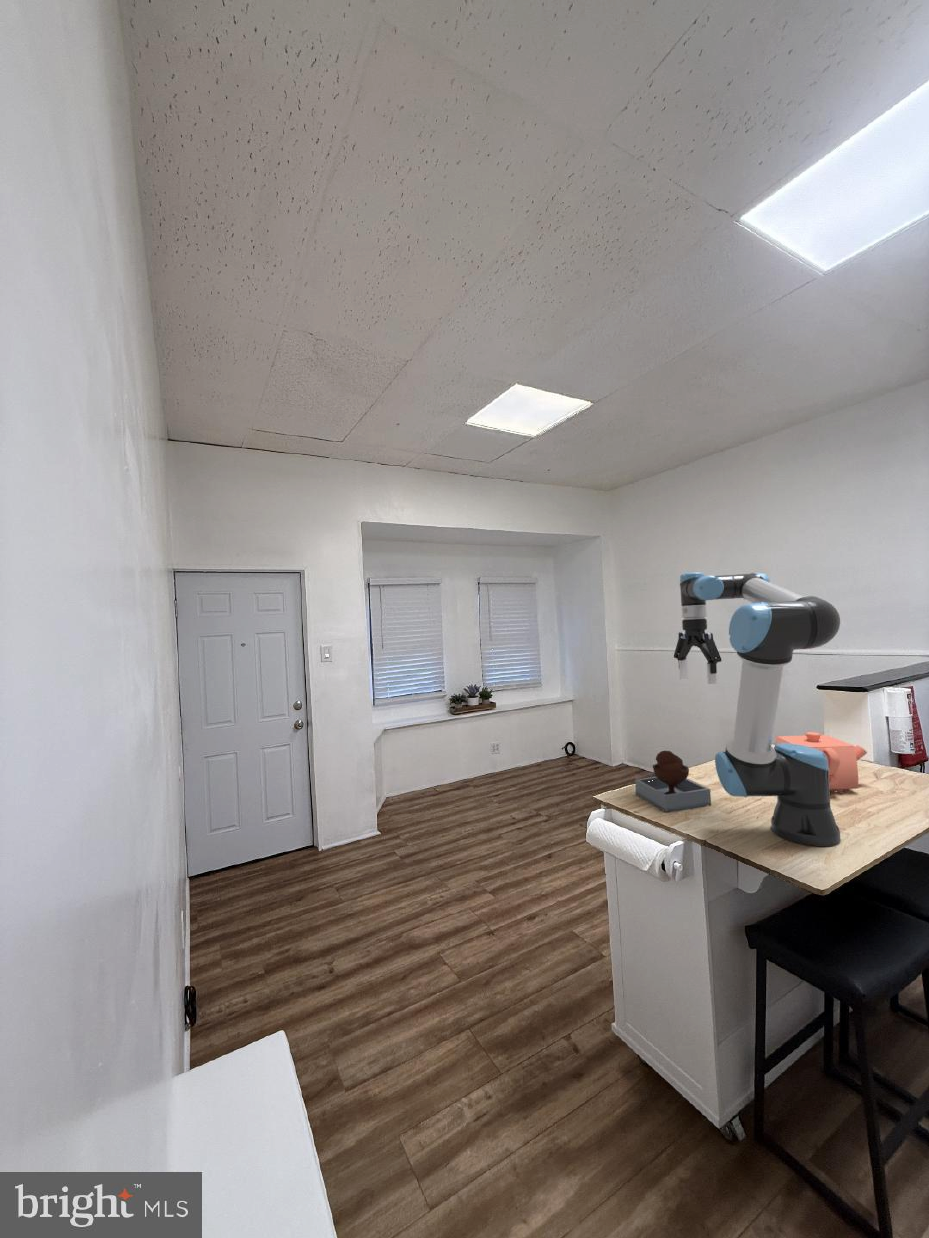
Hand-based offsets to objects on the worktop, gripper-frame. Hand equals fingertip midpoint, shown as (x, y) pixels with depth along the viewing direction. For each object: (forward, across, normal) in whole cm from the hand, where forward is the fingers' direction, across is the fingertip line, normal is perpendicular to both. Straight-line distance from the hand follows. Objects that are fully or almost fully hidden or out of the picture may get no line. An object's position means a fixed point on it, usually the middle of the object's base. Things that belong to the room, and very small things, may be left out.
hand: (697, 681), depth 164 cm
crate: (+37, +4, -15) cm, 40 cm away
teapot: (+37, +12, +38) cm, 54 cm away
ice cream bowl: (+36, +4, -15) cm, 39 cm away
